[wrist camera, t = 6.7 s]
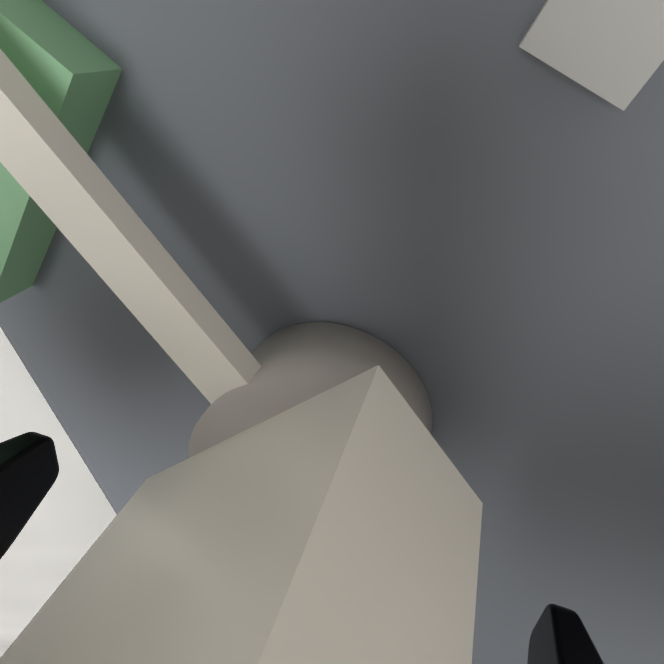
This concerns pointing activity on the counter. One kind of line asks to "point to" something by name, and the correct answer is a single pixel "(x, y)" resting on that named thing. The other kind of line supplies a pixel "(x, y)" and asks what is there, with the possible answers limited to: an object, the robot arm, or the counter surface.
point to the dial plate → (385, 252)
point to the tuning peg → (253, 474)
